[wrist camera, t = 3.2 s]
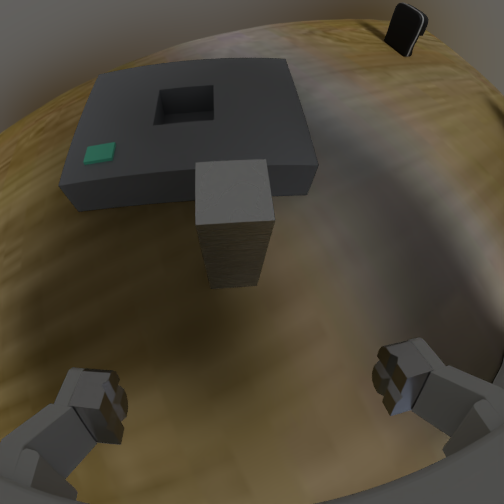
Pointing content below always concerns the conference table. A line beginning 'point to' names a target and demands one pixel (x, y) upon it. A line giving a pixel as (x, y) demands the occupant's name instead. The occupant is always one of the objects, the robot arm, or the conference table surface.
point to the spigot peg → (233, 220)
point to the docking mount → (186, 131)
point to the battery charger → (405, 28)
